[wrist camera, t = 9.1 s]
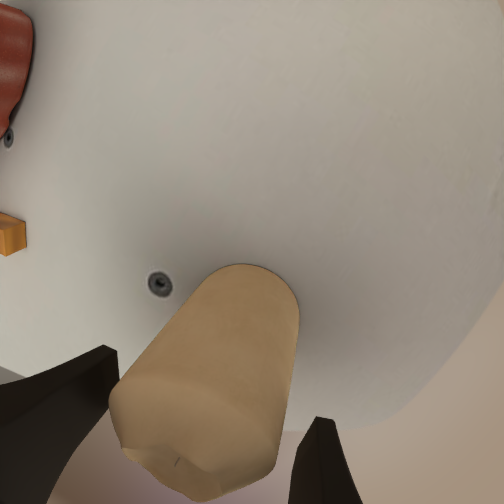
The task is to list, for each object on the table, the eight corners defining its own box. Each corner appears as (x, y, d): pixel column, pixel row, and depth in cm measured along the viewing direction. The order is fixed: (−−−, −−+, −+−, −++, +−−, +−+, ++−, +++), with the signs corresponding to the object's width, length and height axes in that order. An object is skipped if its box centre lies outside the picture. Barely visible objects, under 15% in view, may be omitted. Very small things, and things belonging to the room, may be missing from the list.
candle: (177, 304, 16) (65, 435, 7) (245, 239, 14) (131, 385, 5) (247, 369, 17) (190, 521, 8) (322, 318, 15) (311, 504, 6)
